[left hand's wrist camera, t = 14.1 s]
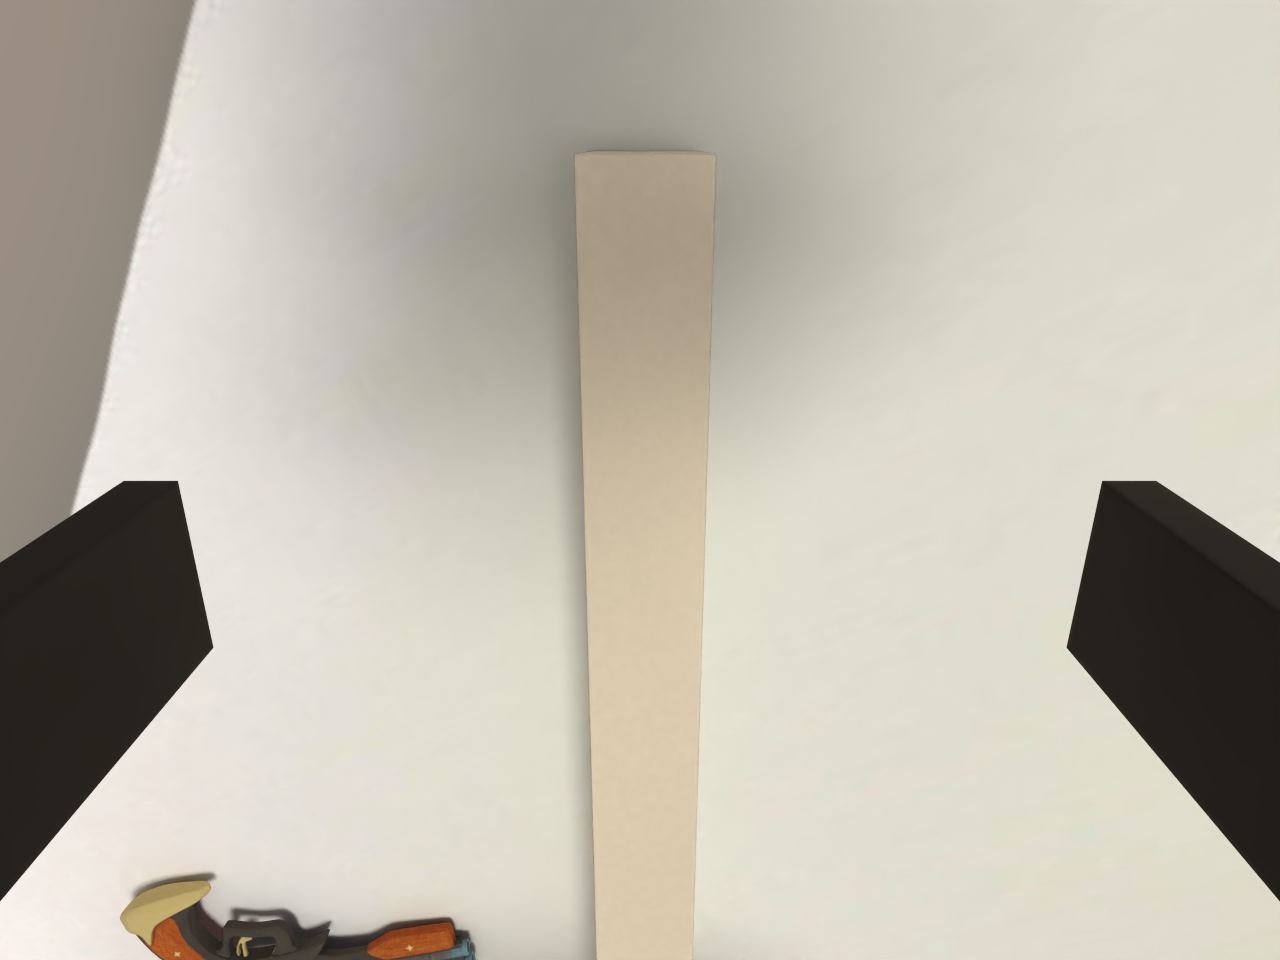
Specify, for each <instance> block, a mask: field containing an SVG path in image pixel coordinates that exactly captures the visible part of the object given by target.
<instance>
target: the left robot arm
mask: <svg viewBox="0 0 1280 960" xmlns="http://www.w3.org/2000/svg"><path fill="white" fill-rule="evenodd" d="M212 649H213V644H212V639H211V634H210V630H209V625H208V620H207V616H206V611H205V606H204V602H203V597H202V592H201V587H200V583H199V578H198V573H197V569H196V564H195V559H194V555H193V550H192V545H191V541H190V536H189V531H188V527H187V522H186V517H185V513H184V508H183V503H182V499H181V494H180V489H179V485H178V481H123V482H122V483H120V484H119V485H117V486H116V487H114V488H112V489H111V490H109V491H108V492H106V493H105V494H103V495H102V496H100V497H99V498H97V499H96V500H94V501H93V502H91V503H90V504H88V505H87V506H85V507H84V508H82V509H81V510H79V511H78V512H76V513H75V514H73V515H72V516H70V517H69V518H67V519H66V520H64V521H63V522H61V523H60V524H58V525H57V526H55V527H53V528H52V529H50V530H49V531H47V532H46V533H44V534H43V535H41V536H40V537H38V538H37V539H35V540H34V541H32V542H31V543H29V544H28V545H26V546H25V547H23V548H22V549H20V550H19V551H17V552H16V553H14V554H13V555H11V556H10V557H8V558H7V559H5V560H4V561H2V562H1V563H0V901H1V900H2V898H3V897H4V896H5V895H6V894H7V893H8V891H9V890H10V889H11V888H12V887H13V885H14V884H15V883H16V882H17V881H18V879H19V878H20V877H21V876H22V875H23V873H24V872H25V871H26V870H27V869H28V868H29V866H30V865H31V864H32V863H33V862H34V860H35V859H36V858H37V857H38V856H39V854H40V853H41V852H42V851H43V850H44V848H45V847H46V846H47V845H48V844H49V843H50V841H51V840H52V839H53V838H54V837H55V835H56V834H57V833H58V832H59V831H60V829H61V828H62V827H63V826H64V825H65V824H66V822H67V821H68V820H69V819H70V818H71V816H72V815H73V814H74V813H75V812H76V810H77V809H78V808H79V807H80V806H81V804H82V803H83V802H84V801H85V800H86V799H87V797H88V796H89V795H90V794H91V793H92V791H93V790H94V789H95V788H96V787H97V785H98V784H99V783H100V782H101V781H102V779H103V778H104V777H105V776H106V775H107V774H108V772H109V771H110V770H111V769H112V768H113V766H114V765H115V764H116V763H117V762H118V760H119V759H120V758H121V757H122V756H123V754H124V753H125V752H126V751H127V750H128V749H129V747H130V746H131V745H132V744H133V743H134V741H135V740H136V739H137V738H138V737H139V735H140V734H141V733H142V732H143V731H144V729H145V728H146V727H147V726H148V725H149V724H150V722H151V721H152V720H153V719H154V718H155V716H156V715H157V714H158V713H159V712H160V710H161V709H162V708H163V707H164V706H165V704H166V703H167V702H168V701H169V700H170V699H171V697H172V696H173V695H174V694H175V693H176V691H177V690H178V689H179V688H180V687H181V685H182V684H183V683H184V682H185V681H186V680H187V678H188V677H189V676H190V675H191V674H192V672H193V671H194V670H195V669H196V668H197V666H198V665H199V664H200V663H201V662H202V660H203V659H204V658H205V657H206V656H207V655H208V653H209V652H210V651H211V650H212ZM1067 649H1068V650H1069V651H1070V652H1071V653H1072V655H1073V656H1074V657H1075V658H1076V659H1077V660H1078V662H1079V663H1080V664H1081V665H1082V666H1083V668H1084V669H1085V670H1086V671H1087V672H1088V674H1089V675H1090V676H1091V677H1092V678H1093V680H1094V681H1095V682H1096V683H1097V684H1098V685H1099V687H1100V688H1101V689H1102V690H1103V691H1104V693H1105V694H1106V695H1107V696H1108V697H1109V699H1110V700H1111V701H1112V702H1113V703H1114V704H1115V706H1116V707H1117V708H1118V709H1119V710H1120V712H1121V713H1122V714H1123V715H1124V716H1125V718H1126V719H1127V720H1128V721H1129V722H1130V724H1131V725H1132V726H1133V727H1134V728H1135V729H1136V731H1137V732H1138V733H1139V734H1140V735H1141V737H1142V738H1143V739H1144V740H1145V741H1146V743H1147V744H1148V745H1149V746H1150V747H1151V749H1152V750H1153V751H1154V752H1155V753H1156V754H1157V756H1158V757H1159V758H1160V759H1161V760H1162V762H1163V763H1164V764H1165V765H1166V766H1167V768H1168V769H1169V770H1170V771H1171V772H1172V774H1173V775H1174V776H1175V777H1176V778H1177V779H1178V781H1179V782H1180V783H1181V784H1182V785H1183V787H1184V788H1185V789H1186V790H1187V791H1188V793H1189V794H1190V795H1191V796H1192V797H1193V799H1194V800H1195V801H1196V802H1197V803H1198V804H1199V806H1200V807H1201V808H1202V809H1203V810H1204V812H1205V813H1206V814H1207V815H1208V816H1209V818H1210V819H1211V820H1212V821H1213V822H1214V824H1215V825H1216V826H1217V827H1218V828H1219V829H1220V831H1221V832H1222V833H1223V834H1224V835H1225V837H1226V838H1227V839H1228V840H1229V841H1230V843H1231V844H1232V845H1233V846H1234V847H1235V848H1236V850H1237V851H1238V852H1239V853H1240V854H1241V856H1242V857H1243V858H1244V859H1245V860H1246V862H1247V863H1248V864H1249V865H1250V866H1251V868H1252V869H1253V870H1254V871H1255V872H1256V873H1257V875H1258V876H1259V877H1260V878H1261V879H1262V881H1263V882H1264V883H1265V884H1266V885H1267V887H1268V888H1269V889H1270V890H1271V891H1272V893H1273V894H1274V895H1275V896H1276V897H1277V898H1278V900H1279V901H1280V563H1279V562H1278V561H1276V560H1275V559H1273V558H1272V557H1270V556H1269V555H1267V554H1266V553H1264V552H1263V551H1261V550H1260V549H1258V548H1257V547H1255V546H1254V545H1252V544H1251V543H1249V542H1248V541H1246V540H1245V539H1243V538H1242V537H1240V536H1239V535H1237V534H1236V533H1234V532H1233V531H1231V530H1230V529H1228V528H1227V527H1225V526H1223V525H1222V524H1220V523H1219V522H1217V521H1216V520H1214V519H1213V518H1211V517H1210V516H1208V515H1207V514H1205V513H1204V512H1202V511H1201V510H1199V509H1198V508H1196V507H1195V506H1193V505H1192V504H1190V503H1189V502H1187V501H1186V500H1184V499H1183V498H1181V497H1180V496H1178V495H1177V494H1175V493H1174V492H1172V491H1171V490H1169V489H1168V488H1166V487H1164V486H1163V485H1161V484H1160V483H1158V482H1157V481H1102V484H1101V489H1100V494H1099V499H1098V503H1097V508H1096V513H1095V517H1094V522H1093V527H1092V531H1091V536H1090V541H1089V545H1088V550H1087V555H1086V559H1085V564H1084V569H1083V573H1082V578H1081V583H1080V587H1079V592H1078V597H1077V602H1076V606H1075V611H1074V616H1073V620H1072V625H1071V630H1070V634H1069V639H1068V644H1067Z"/></svg>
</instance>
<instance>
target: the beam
mask: <svg viewBox="0 0 1280 960" xmlns="http://www.w3.org/2000/svg"><path fill="white" fill-rule="evenodd" d="M574 168H575V204H576V240H577V276H578V312H579V348H580V384H581V420H582V456H583V492H584V528H585V564H586V600H587V636H588V672H589V708H590V744H591V780H592V816H593V852H594V888H595V924H596V960H693V930H694V896H695V862H696V828H697V794H698V760H699V726H700V692H701V658H702V625H703V591H704V557H705V523H706V489H707V455H708V421H709V387H710V353H711V319H712V285H713V251H714V218H715V184H716V155H715V154H710V153H706V152H701V151H588V152H584V153H580V154H576V155H574Z"/></svg>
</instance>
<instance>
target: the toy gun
mask: <svg viewBox="0 0 1280 960" xmlns="http://www.w3.org/2000/svg"><path fill="white" fill-rule="evenodd" d="M210 890H211V886H210V884H209V883H208V882H206V881H189V882H180V883H172V884H166V885H162V886H158V887H156V888H153V889H150V890H147V891H145V892H143V893H142V894H140V895H138V896H137V897H136V898H135V899H133V901H132V902H131V903H130V904H129V905H128V906H127V907H126V909H125V910H124V911H123V913H122V914H121V916H120V920H121V922H122V923H123V925H124V927H125V929H126V930H127V931H128V932H130V933H132V934H136V935H137V936H138V938H139V939H140V940H141V941H142V942H143V943H144V944H145V945H146V946H147V947H148V948H149V949H150V950H151V951H152V952H153V953H154V954H155V955H156V956H158V957H159V958H160V959H162V960H475V954H474V952H473V951H470V941H469V939H468V938H466V939H463V937H456V936H455V932H454V929H453V926H452V925H451V923H450V922H446V923H439V924H431V925H424V926H417V927H410V928H403V929H397V930H392V931H389V932H388V933H386V934H384V935H382V936H381V937H379V938H377V939H375V940H374V941H372V942H370V943H369V944H367V945H364V946H357V947H351V948H344V949H325V948H323V946H324V944H325V941H326V939H327V936H328V934H329V931H330V930H329V929H327V930H325V931H323V932H321V933H319V934H317V935H315V936H312V937H309V938H306V939H302V940H298V939H296V937H295V934H294V931H293V929H292V927H291V926H290V925H289V924H288V923H287V922H285V921H283V920H280V919H277V920H271V921H264V922H245V921H235V920H229V921H227V923H226V925H225V926H224V928H223V930H222V934H223V943H222V942H220V941H218V940H217V939H216V938H215V937H214V936H213V935H212V934H210V933H209V932H208V931H207V930H206V928H205V927H204V926H203V925H202V924H201V923H200V921H199V920H198V917H197V913H196V907H195V903H196V902H198V901H199V900H200V899H201V898H203V897H204V896H205V895H206V894H207V893H208V892H209V891H210ZM267 936H271V937H274V939H275V942H276V945H270V946H265V947H259V948H253V949H247V946H246V942H247V941H249V940H252V938H255V937H267ZM233 937H241V938H240V940H239V942H238V945H237V947H234V943H233ZM240 943H242V949H241V948H240Z"/></svg>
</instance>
